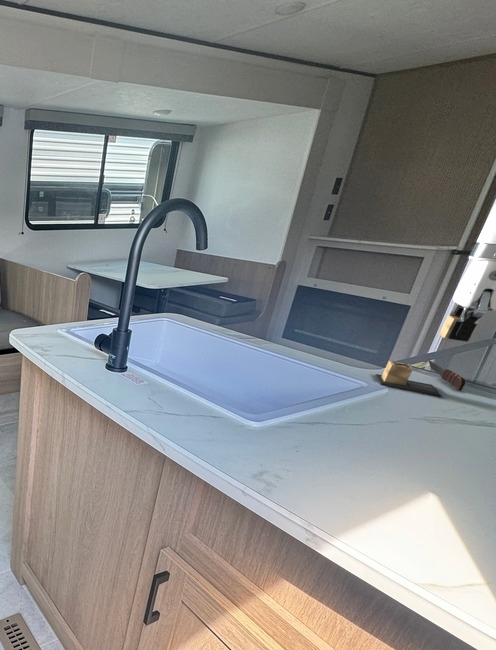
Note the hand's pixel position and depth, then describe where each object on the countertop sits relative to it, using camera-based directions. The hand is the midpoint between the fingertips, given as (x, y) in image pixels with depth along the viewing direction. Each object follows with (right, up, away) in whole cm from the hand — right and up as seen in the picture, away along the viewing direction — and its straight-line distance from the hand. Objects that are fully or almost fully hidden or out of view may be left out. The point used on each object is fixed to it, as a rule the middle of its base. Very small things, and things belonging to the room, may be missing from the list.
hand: (454, 336), depth 97 cm
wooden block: (-3, -10, +12) cm, 16 cm away
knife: (+14, -10, +16) cm, 23 cm away
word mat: (-1, -11, +10) cm, 15 cm away
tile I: (0, 0, 0) cm, 0 cm away
